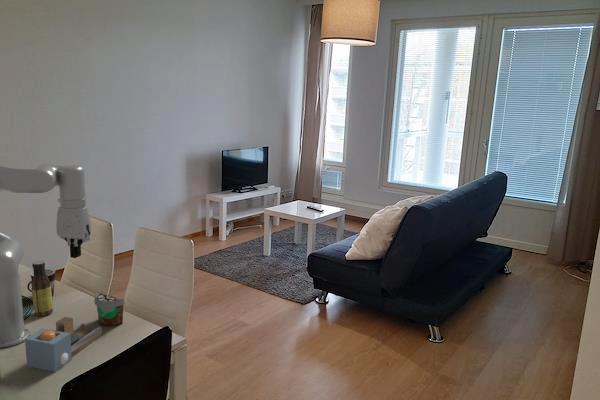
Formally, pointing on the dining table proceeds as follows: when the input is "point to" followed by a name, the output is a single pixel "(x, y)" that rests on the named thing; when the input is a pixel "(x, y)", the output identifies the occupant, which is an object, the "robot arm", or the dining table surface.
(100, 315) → the food container
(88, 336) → the rail
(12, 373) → the dining table surface
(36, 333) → the blue-grey box
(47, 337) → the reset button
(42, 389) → the dining table surface
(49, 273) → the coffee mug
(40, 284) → the sauce bottle
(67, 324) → the carriage
